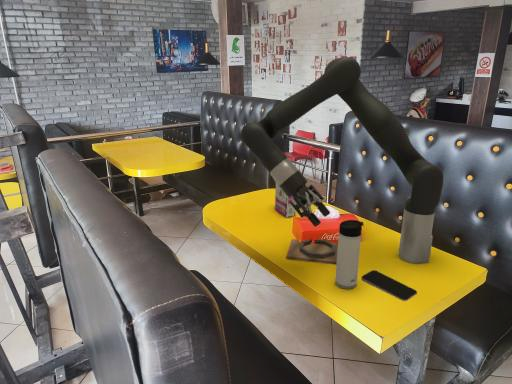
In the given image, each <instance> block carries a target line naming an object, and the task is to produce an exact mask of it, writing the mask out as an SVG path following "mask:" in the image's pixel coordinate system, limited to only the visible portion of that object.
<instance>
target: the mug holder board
mask: <svg viewBox="0 0 512 384" xmlns="http://www.w3.org/2000/svg"><path fill="white" fill-rule="evenodd" d="M317 239H318V240H314V241H315V242H314V243H315V244H311V242H312V240H308V239H304V240H305V241H301V243H300V242H299V240H300V239H297V238H291V240H290V243H289V247H288V250H287V251H286V252H287V253H286V255H285V259H286V260H290V261H291V260H292V261H301V262H302V261H303V262H310V263H318V264H319V263H320V264H328V265H336V264H337V251H338V242H331V241H329V240H327V239H324V238H323V239H321V238H317Z"/></svg>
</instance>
